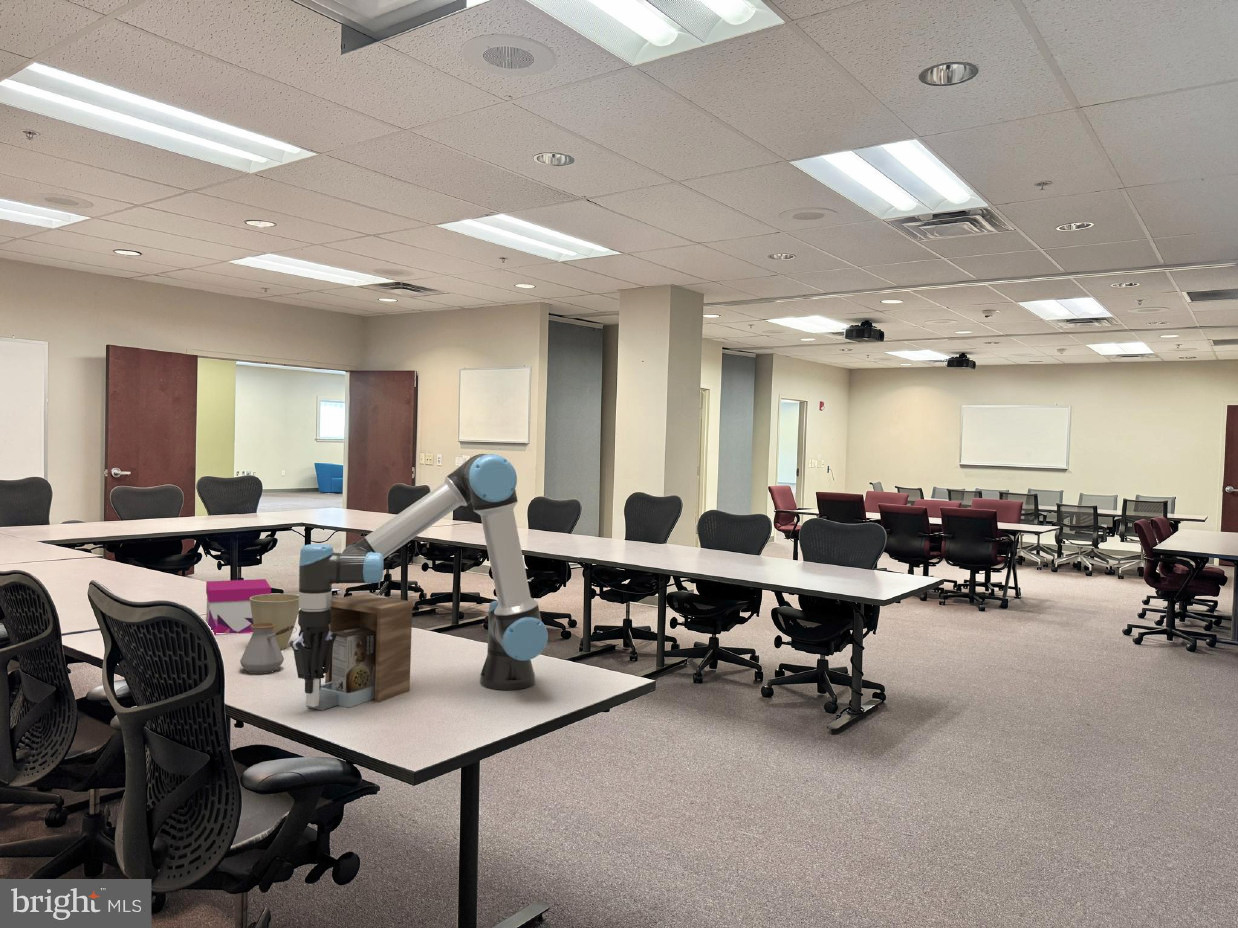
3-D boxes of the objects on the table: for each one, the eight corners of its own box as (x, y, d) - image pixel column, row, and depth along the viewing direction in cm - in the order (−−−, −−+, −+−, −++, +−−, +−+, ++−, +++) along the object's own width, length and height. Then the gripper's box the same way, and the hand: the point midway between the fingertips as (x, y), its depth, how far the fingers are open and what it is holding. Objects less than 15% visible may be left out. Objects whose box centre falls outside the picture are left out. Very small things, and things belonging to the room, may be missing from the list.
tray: (387, 693, 222) (388, 681, 222) (332, 713, 204) (333, 700, 204) (352, 686, 227) (353, 674, 227) (295, 705, 209) (296, 692, 209)
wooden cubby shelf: (409, 691, 225) (412, 601, 225) (378, 702, 214) (381, 608, 214) (357, 681, 233) (360, 593, 232) (324, 691, 222) (327, 600, 222)
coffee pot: (231, 669, 239) (233, 617, 239) (270, 662, 249) (271, 611, 248) (272, 685, 226) (274, 629, 226) (311, 676, 235) (312, 623, 235)
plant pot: (288, 654, 258) (289, 602, 258) (239, 652, 259) (241, 600, 258) (307, 643, 273) (308, 594, 273) (261, 641, 274) (262, 592, 273)
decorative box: (205, 624, 295) (206, 581, 295) (264, 620, 304) (265, 579, 304) (207, 635, 279) (208, 590, 278) (269, 631, 288) (271, 587, 287)
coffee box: (360, 687, 224) (362, 626, 224) (375, 691, 220) (377, 630, 220) (330, 694, 217) (331, 631, 216) (345, 699, 213) (347, 635, 212)
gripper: (323, 602, 213) (320, 696, 214) (282, 611, 201) (279, 709, 202) (346, 606, 210) (343, 700, 210) (305, 614, 198) (303, 715, 199)
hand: (312, 705), depth 206 cm, fingers closed
